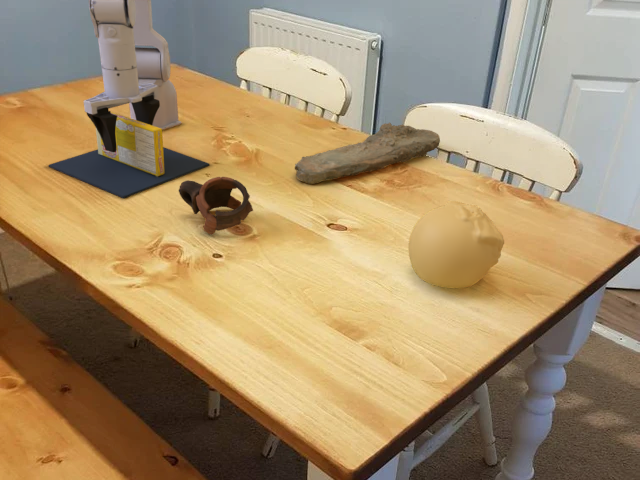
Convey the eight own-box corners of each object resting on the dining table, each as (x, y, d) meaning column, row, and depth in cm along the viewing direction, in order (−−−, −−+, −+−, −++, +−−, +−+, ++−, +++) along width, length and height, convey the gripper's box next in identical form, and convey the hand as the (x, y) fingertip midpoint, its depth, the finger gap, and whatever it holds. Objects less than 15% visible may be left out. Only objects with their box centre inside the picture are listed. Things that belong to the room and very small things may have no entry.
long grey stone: (281, 179, 126) (315, 200, 120) (281, 152, 123) (316, 173, 117) (415, 135, 144) (450, 151, 138) (418, 110, 141) (454, 126, 135)
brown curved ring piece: (258, 213, 112) (263, 182, 104) (236, 259, 107) (240, 230, 100) (188, 186, 112) (188, 154, 104) (164, 231, 107) (162, 200, 100)
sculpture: (506, 293, 94) (522, 221, 88) (425, 303, 90) (436, 229, 84) (467, 253, 103) (480, 185, 97) (393, 261, 100) (401, 191, 93)
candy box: (166, 174, 121) (163, 127, 116) (157, 177, 120) (153, 130, 115) (106, 151, 129) (100, 107, 124) (97, 154, 127) (91, 109, 123)
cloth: (136, 139, 136) (136, 137, 136) (209, 165, 126) (209, 163, 126) (48, 167, 122) (48, 164, 122) (123, 198, 113) (123, 196, 113)
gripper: (99, 79, 108) (110, 161, 115) (168, 63, 118) (174, 140, 125) (71, 70, 111) (83, 151, 119) (140, 55, 121) (147, 131, 129)
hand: (128, 145), depth 122 cm, fingers open, 7 cm apart
